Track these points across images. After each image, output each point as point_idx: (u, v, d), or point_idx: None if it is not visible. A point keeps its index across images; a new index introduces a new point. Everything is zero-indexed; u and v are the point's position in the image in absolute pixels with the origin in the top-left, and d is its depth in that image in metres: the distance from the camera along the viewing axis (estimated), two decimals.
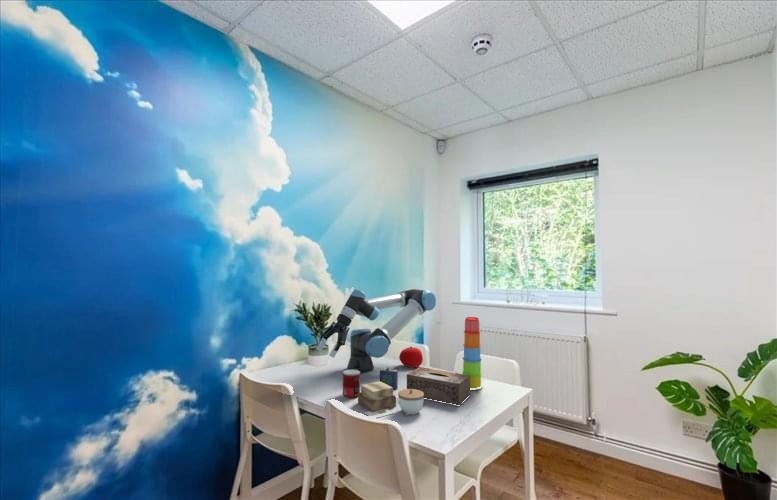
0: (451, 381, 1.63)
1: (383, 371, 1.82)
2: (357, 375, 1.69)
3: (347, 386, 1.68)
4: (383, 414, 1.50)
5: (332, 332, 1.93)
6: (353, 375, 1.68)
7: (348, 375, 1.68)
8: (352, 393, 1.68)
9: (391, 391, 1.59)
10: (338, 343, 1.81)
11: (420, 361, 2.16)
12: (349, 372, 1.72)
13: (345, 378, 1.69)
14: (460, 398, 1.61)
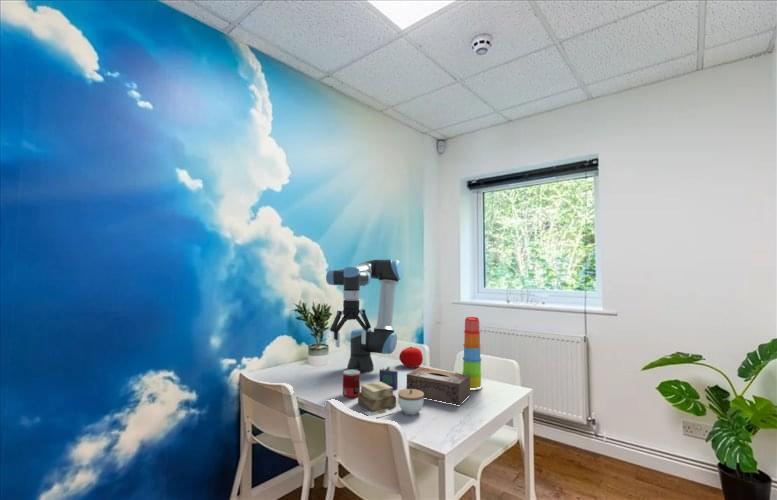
0: (451, 381, 1.63)
1: (383, 371, 1.82)
2: (357, 375, 1.69)
3: (347, 386, 1.68)
4: (383, 414, 1.50)
5: None
6: (353, 375, 1.68)
7: (348, 375, 1.68)
8: (352, 393, 1.68)
9: (391, 391, 1.59)
10: (367, 329, 1.76)
11: (420, 361, 2.16)
12: (349, 372, 1.72)
13: (345, 378, 1.69)
14: (460, 398, 1.61)
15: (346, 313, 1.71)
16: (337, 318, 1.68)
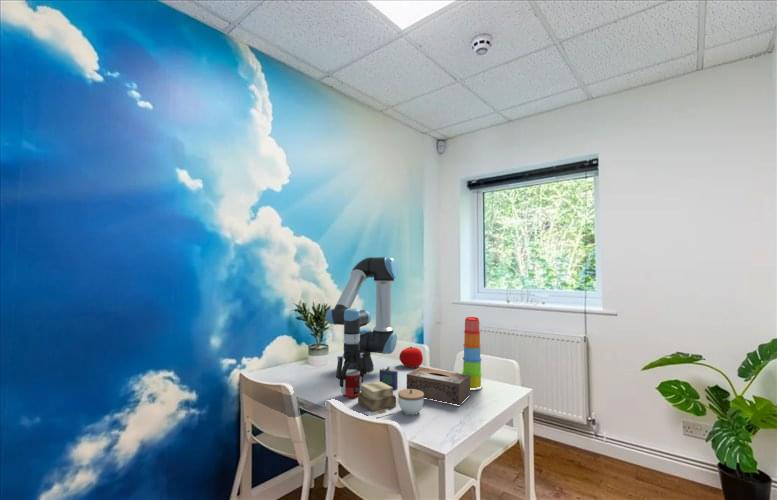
0: (451, 381, 1.63)
1: (383, 371, 1.82)
2: (357, 375, 1.69)
3: (347, 386, 1.68)
4: (383, 414, 1.50)
5: None
6: (353, 375, 1.68)
7: (348, 375, 1.68)
8: (352, 393, 1.68)
9: (391, 391, 1.59)
10: None
11: (420, 361, 2.16)
12: (349, 372, 1.72)
13: (345, 378, 1.69)
14: (460, 398, 1.61)
15: (347, 357, 1.70)
16: (339, 365, 1.67)
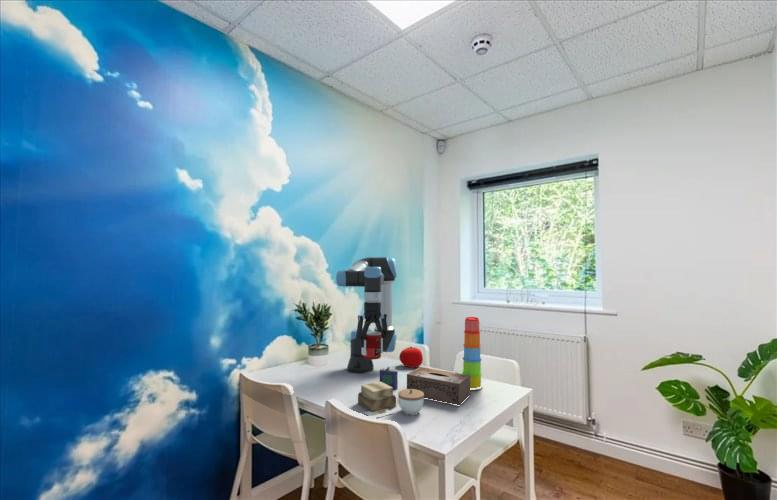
0: (451, 381, 1.63)
1: (383, 371, 1.82)
2: (378, 335, 1.61)
3: (368, 347, 1.59)
4: (383, 414, 1.50)
5: None
6: (374, 335, 1.59)
7: (369, 334, 1.60)
8: (373, 353, 1.59)
9: (391, 391, 1.59)
10: None
11: (420, 361, 2.16)
12: (370, 333, 1.63)
13: (366, 338, 1.60)
14: (460, 398, 1.61)
15: (367, 316, 1.61)
16: (360, 324, 1.59)
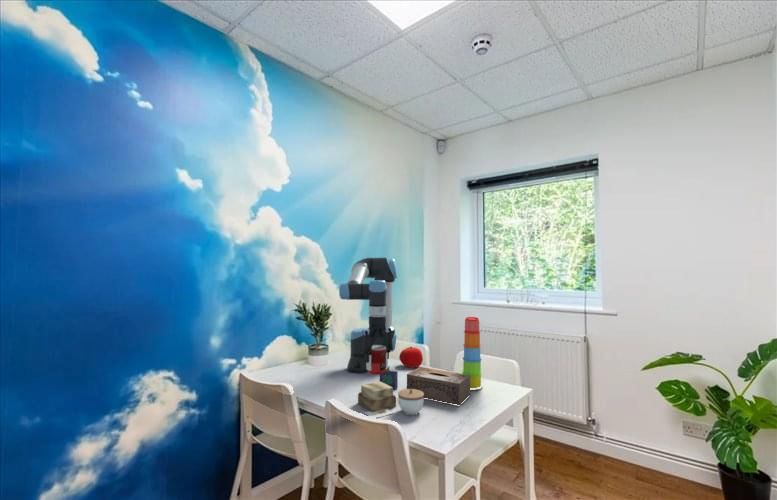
0: (451, 381, 1.63)
1: None
2: (384, 350, 1.59)
3: (373, 362, 1.58)
4: (383, 414, 1.50)
5: None
6: (379, 350, 1.58)
7: (374, 349, 1.58)
8: (378, 369, 1.57)
9: (391, 391, 1.59)
10: None
11: (420, 361, 2.16)
12: (375, 347, 1.61)
13: (371, 353, 1.58)
14: (460, 398, 1.61)
15: (372, 330, 1.59)
16: (365, 339, 1.57)
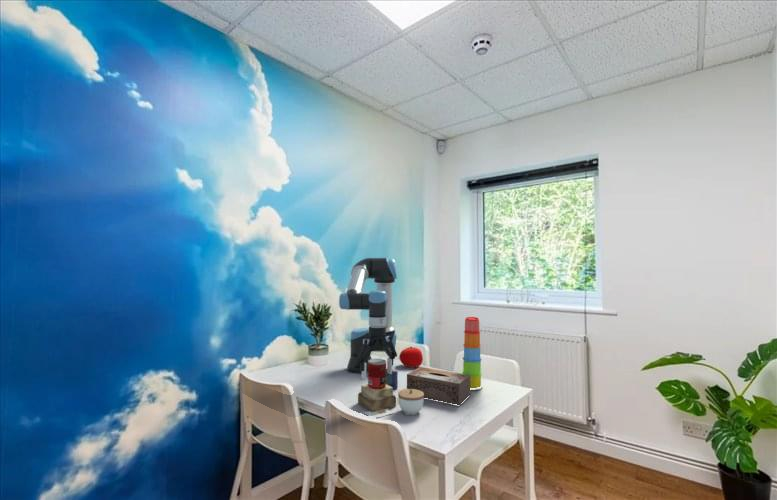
0: (451, 381, 1.63)
1: None
2: (383, 364, 1.59)
3: (373, 376, 1.58)
4: (383, 414, 1.50)
5: None
6: (379, 364, 1.58)
7: (374, 364, 1.58)
8: (378, 383, 1.57)
9: (391, 391, 1.59)
10: None
11: (420, 361, 2.16)
12: (374, 361, 1.61)
13: (371, 367, 1.58)
14: (460, 398, 1.61)
15: (372, 341, 1.59)
16: (363, 348, 1.56)
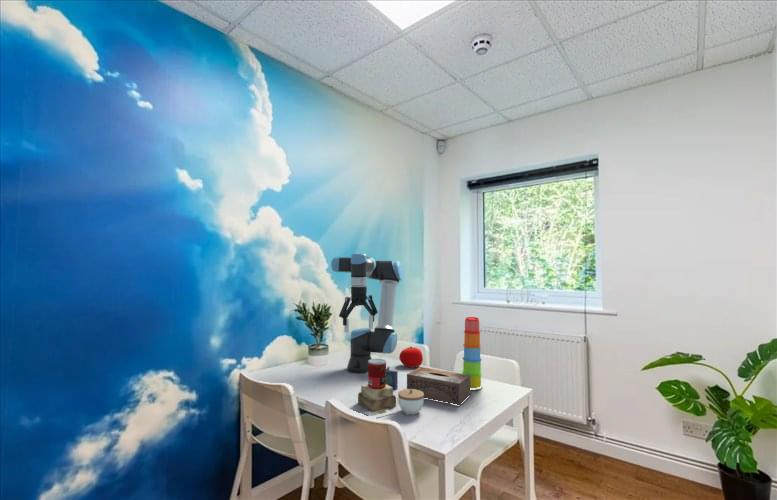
0: (451, 381, 1.63)
1: None
2: (383, 364, 1.59)
3: (373, 376, 1.58)
4: (383, 414, 1.50)
5: None
6: (379, 364, 1.58)
7: (374, 364, 1.58)
8: (378, 383, 1.57)
9: (391, 391, 1.59)
10: (374, 314, 1.80)
11: (420, 361, 2.16)
12: (374, 361, 1.61)
13: (371, 367, 1.58)
14: (460, 398, 1.61)
15: (354, 299, 1.74)
16: (346, 304, 1.71)
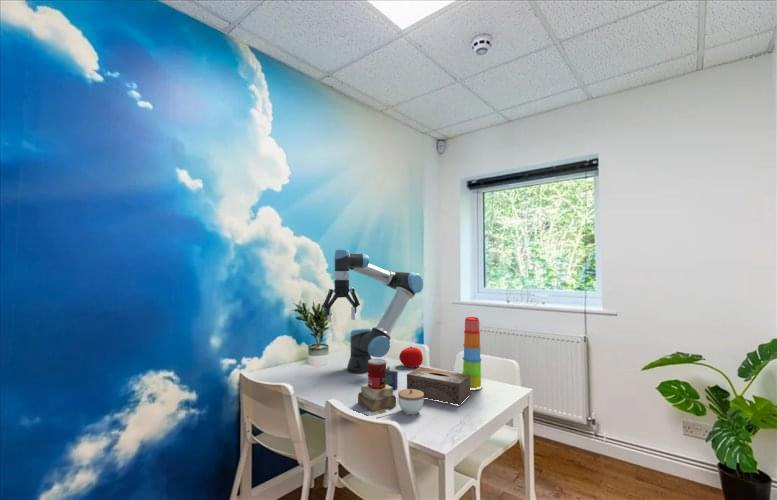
0: (451, 381, 1.63)
1: None
2: (383, 364, 1.59)
3: (373, 376, 1.58)
4: (383, 414, 1.50)
5: None
6: (379, 364, 1.58)
7: (374, 364, 1.58)
8: (378, 383, 1.57)
9: (391, 391, 1.59)
10: (356, 306, 1.95)
11: (420, 361, 2.16)
12: (374, 361, 1.61)
13: (371, 367, 1.58)
14: (460, 398, 1.61)
15: (337, 291, 1.89)
16: (329, 296, 1.86)
